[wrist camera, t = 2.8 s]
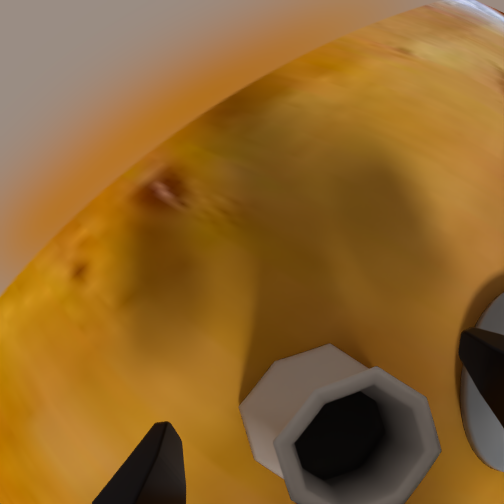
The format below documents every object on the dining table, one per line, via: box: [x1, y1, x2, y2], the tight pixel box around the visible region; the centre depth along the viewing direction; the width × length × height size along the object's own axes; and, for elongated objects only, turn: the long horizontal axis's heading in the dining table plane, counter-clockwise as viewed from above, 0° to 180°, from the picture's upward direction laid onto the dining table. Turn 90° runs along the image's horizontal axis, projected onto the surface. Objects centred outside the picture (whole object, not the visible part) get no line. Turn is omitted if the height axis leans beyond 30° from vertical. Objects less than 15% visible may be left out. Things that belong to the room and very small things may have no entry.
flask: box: [239, 343, 441, 504], centre depth 9 cm, size 7×7×10 cm
